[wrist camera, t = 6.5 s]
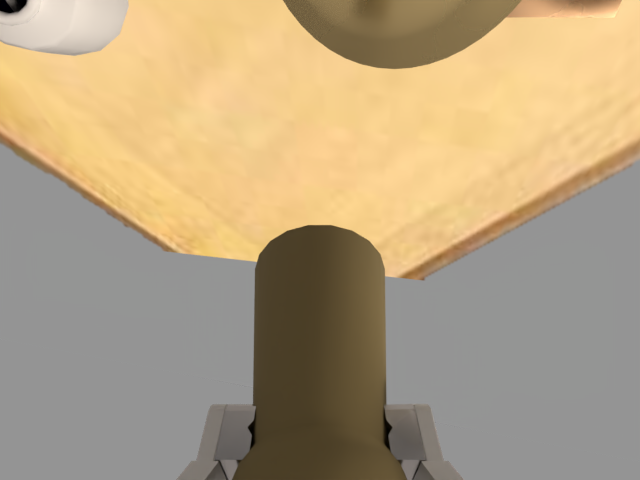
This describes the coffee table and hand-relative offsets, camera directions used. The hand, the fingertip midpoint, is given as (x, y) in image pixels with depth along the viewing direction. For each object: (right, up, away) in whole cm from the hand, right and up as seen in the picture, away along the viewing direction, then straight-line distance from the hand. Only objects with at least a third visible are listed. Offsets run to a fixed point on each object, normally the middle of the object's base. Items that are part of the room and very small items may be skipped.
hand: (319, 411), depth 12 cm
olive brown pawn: (0, +4, +5) cm, 7 cm away
